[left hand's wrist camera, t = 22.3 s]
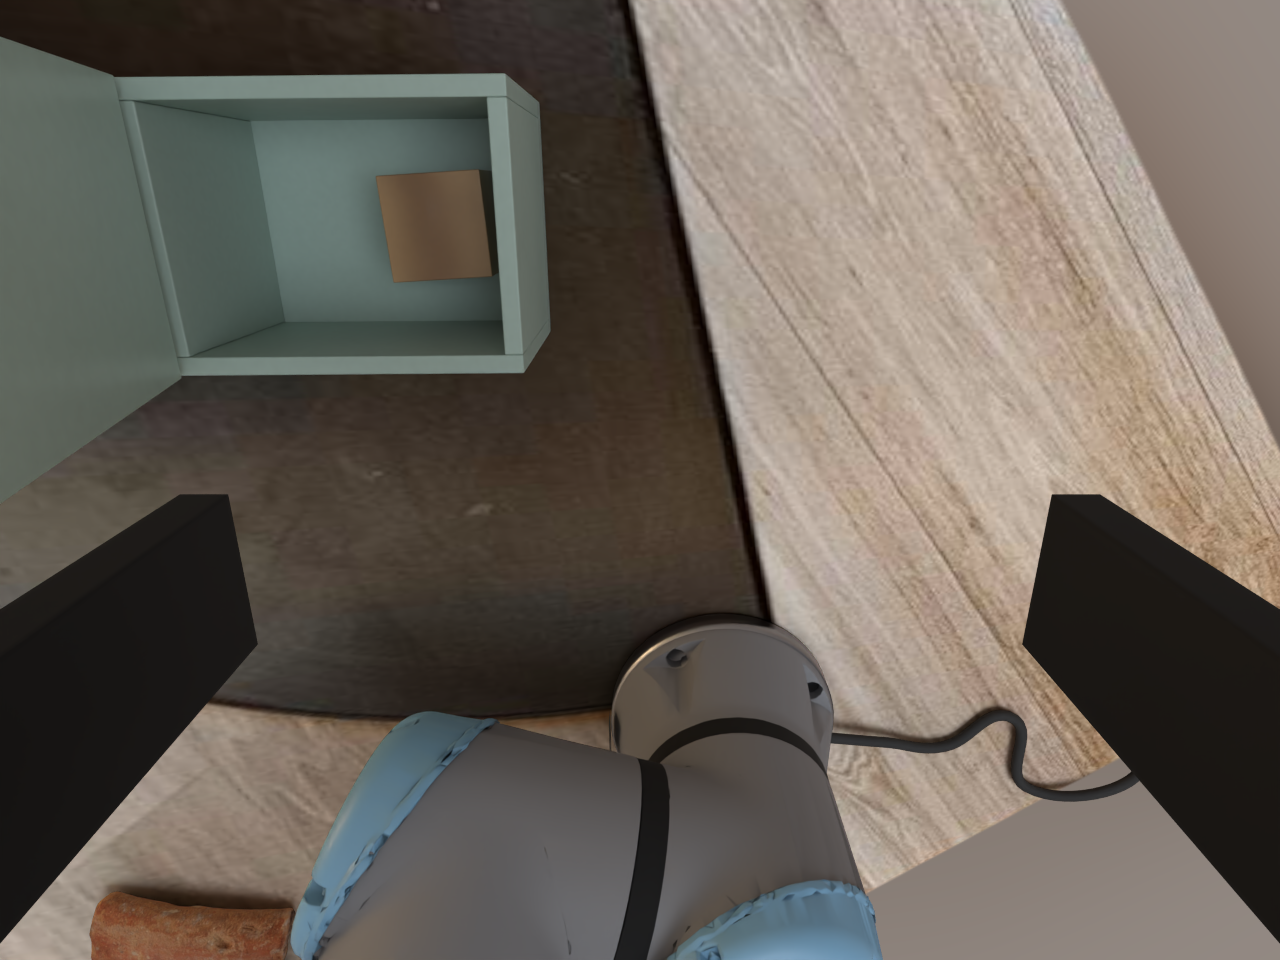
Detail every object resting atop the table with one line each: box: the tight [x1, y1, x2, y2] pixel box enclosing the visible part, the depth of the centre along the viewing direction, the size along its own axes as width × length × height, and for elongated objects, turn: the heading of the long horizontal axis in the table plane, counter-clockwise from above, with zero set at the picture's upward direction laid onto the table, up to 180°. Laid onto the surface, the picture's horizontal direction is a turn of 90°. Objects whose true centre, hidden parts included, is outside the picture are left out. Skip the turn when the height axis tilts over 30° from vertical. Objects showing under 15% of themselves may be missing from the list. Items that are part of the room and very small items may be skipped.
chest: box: [114, 73, 551, 376], centre depth 38 cm, size 16×12×11 cm
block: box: [376, 169, 499, 283], centre depth 40 cm, size 5×5×5 cm
